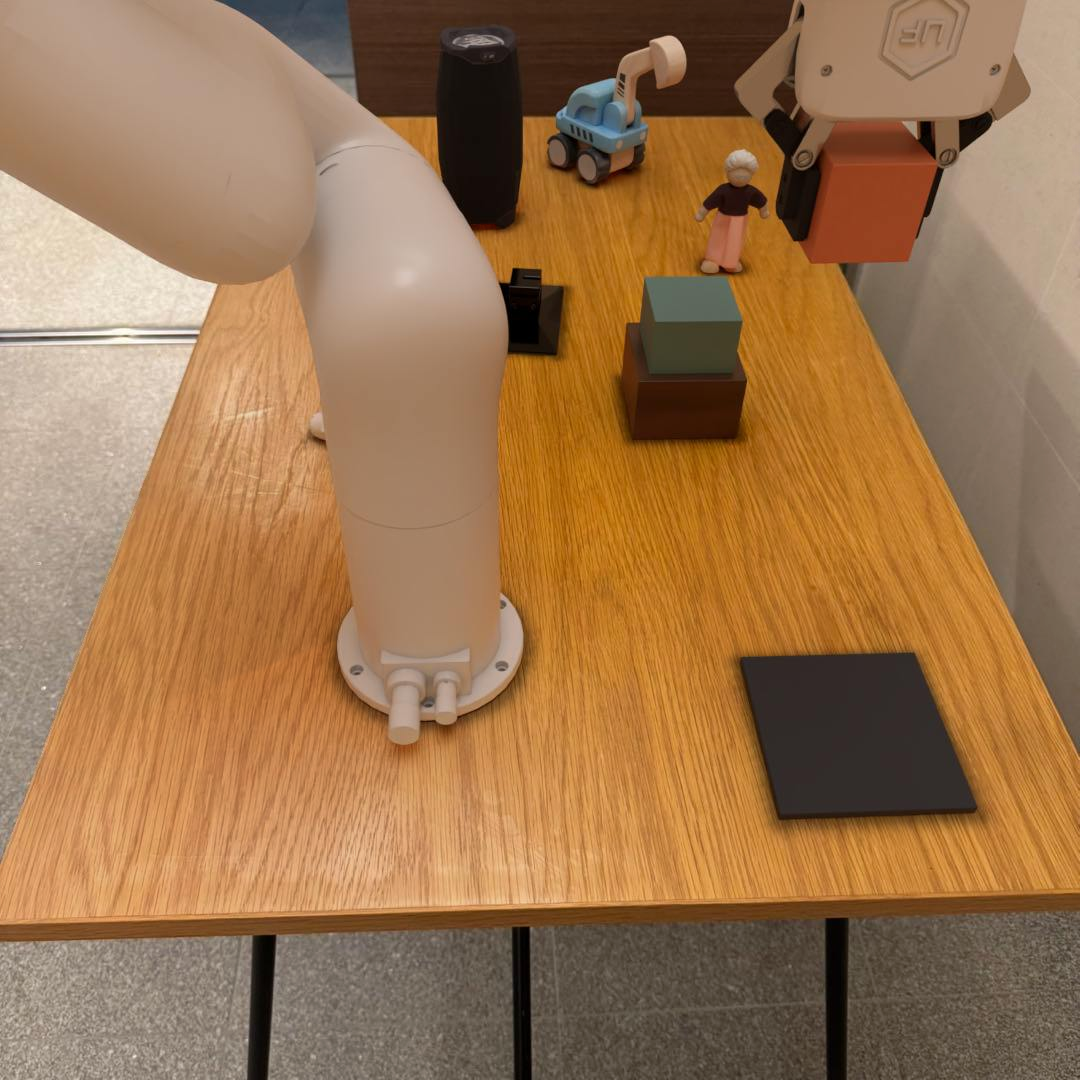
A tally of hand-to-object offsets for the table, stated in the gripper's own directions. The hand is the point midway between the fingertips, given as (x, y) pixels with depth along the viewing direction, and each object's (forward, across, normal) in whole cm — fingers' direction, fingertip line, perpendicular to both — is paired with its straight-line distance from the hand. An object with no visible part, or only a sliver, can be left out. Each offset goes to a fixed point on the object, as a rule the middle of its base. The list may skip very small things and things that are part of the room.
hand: (848, 226), depth 55 cm
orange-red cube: (+1, 0, 0) cm, 1 cm away
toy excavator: (+27, -2, +68) cm, 74 cm away
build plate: (+28, -15, +36) cm, 48 cm away
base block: (+27, -3, +20) cm, 34 cm away
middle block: (+21, -3, +20) cm, 30 cm away
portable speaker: (+28, -18, +58) cm, 67 cm away
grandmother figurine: (+27, +7, +45) cm, 53 cm away
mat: (+27, +2, -15) cm, 31 cm away
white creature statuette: (+28, -29, +19) cm, 44 cm away
